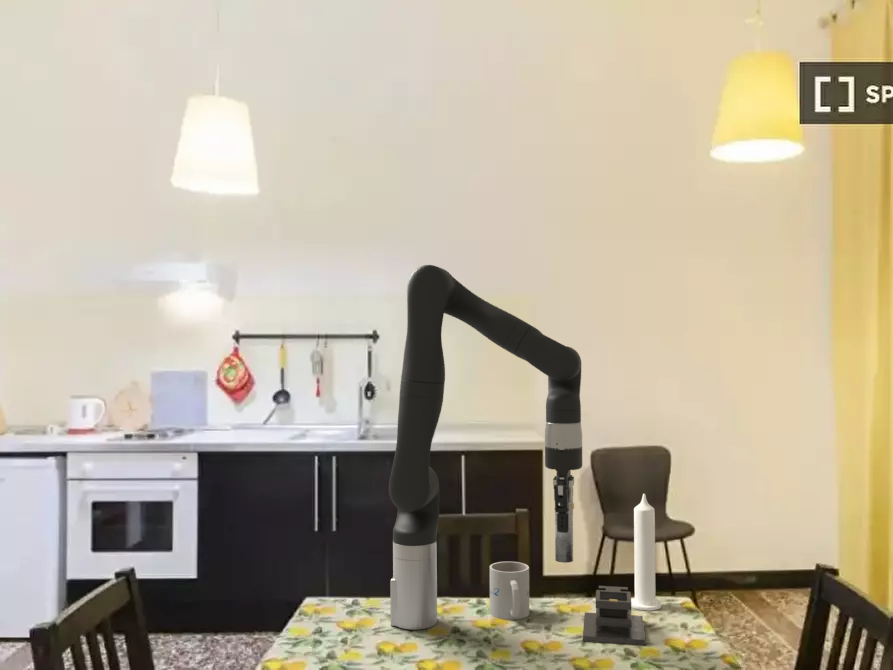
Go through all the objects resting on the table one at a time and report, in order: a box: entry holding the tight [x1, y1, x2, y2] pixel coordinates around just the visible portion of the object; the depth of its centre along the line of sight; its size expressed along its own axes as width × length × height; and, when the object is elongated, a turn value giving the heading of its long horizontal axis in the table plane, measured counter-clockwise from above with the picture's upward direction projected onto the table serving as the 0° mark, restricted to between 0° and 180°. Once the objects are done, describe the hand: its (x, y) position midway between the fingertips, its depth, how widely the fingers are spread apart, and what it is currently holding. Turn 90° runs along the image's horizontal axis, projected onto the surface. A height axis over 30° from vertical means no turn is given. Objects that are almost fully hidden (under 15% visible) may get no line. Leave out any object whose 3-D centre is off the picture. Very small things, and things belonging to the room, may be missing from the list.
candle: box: [631, 493, 662, 612], centre depth 178 cm, size 7×7×25 cm
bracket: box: [582, 585, 646, 646], centre depth 162 cm, size 12×14×7 cm
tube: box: [554, 490, 575, 564], centre depth 161 cm, size 4×4×14 cm
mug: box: [489, 561, 530, 621], centre depth 172 cm, size 12×9×10 cm
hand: (563, 529), depth 161 cm, fingers closed on tube, 3 cm apart
